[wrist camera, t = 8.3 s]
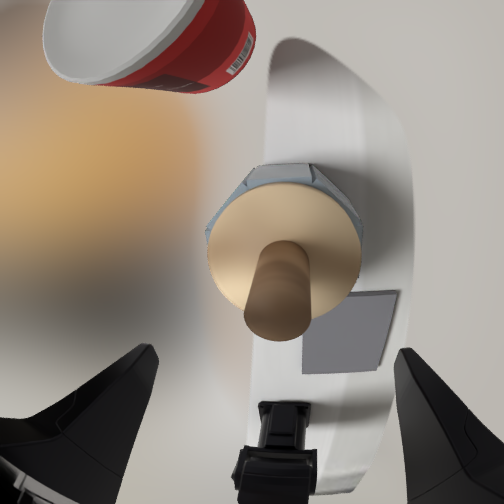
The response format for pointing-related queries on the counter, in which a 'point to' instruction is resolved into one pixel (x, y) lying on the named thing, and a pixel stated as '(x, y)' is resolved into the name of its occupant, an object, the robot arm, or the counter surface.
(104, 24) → the canned food
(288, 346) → the counter surface
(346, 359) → the mat
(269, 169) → the bowl
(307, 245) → the lid
